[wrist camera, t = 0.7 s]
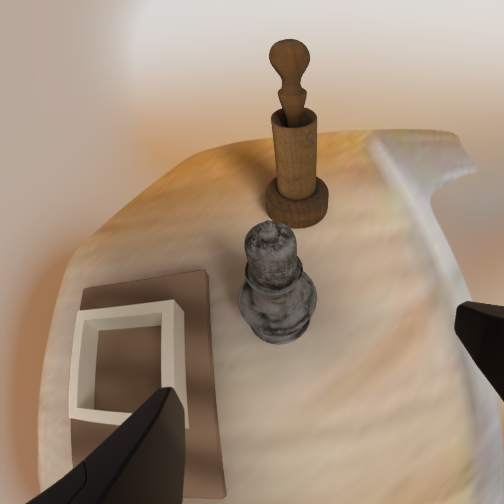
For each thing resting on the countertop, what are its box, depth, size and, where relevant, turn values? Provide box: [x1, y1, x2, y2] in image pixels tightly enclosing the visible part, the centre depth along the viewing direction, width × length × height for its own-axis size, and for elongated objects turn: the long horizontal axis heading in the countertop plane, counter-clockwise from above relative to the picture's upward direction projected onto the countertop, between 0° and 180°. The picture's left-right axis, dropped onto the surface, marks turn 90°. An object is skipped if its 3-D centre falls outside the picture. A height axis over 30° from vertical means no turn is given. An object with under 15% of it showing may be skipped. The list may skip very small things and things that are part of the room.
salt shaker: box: [238, 220, 317, 344], centre depth 19 cm, size 6×6×12 cm
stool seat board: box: [69, 270, 227, 499], centre depth 20 cm, size 20×14×4 cm
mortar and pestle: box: [266, 39, 329, 228], centre depth 23 cm, size 7×6×18 cm
